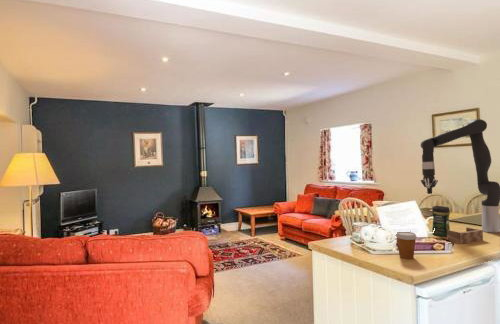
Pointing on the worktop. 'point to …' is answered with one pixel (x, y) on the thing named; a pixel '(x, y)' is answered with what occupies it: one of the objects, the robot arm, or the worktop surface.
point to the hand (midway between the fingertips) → (429, 193)
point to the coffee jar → (440, 220)
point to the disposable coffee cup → (406, 244)
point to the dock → (465, 236)
